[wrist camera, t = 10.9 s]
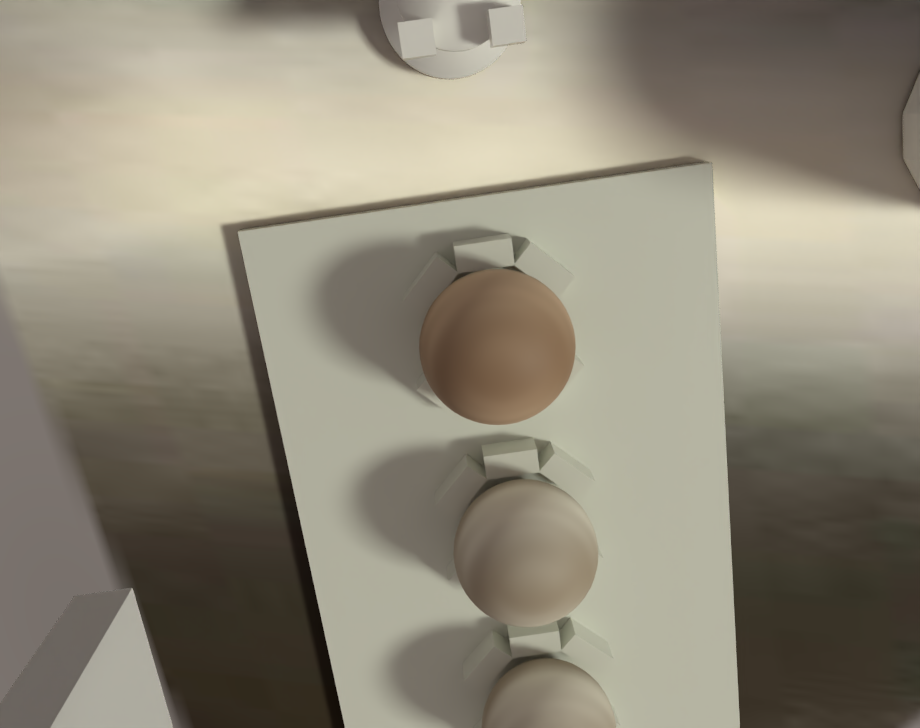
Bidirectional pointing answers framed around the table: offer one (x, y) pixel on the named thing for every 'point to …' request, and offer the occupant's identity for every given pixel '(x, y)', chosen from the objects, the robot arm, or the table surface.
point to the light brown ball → (497, 346)
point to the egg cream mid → (525, 553)
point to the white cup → (912, 132)
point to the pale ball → (547, 698)
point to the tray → (510, 444)
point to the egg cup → (452, 33)
